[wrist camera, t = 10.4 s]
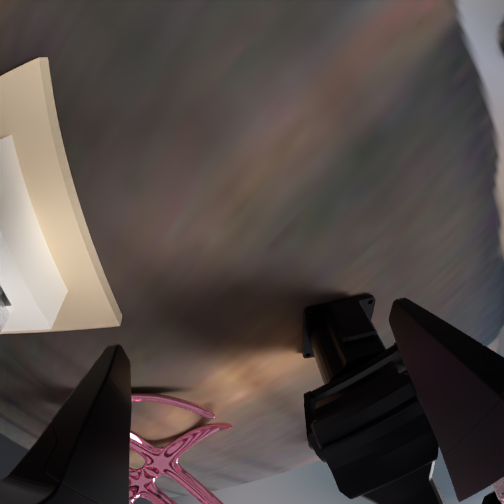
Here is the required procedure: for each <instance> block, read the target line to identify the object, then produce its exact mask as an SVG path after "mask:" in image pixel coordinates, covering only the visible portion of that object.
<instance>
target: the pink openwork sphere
mask: <svg viewBox="0 0 504 504" xmlns="http://www.w3.org/2000/svg"><path fill="white" fill-rule="evenodd" d="M131 401H150V402H159V403H165V404H169V405H173V406H177V407H181V408H184V409H186V410H189V411H192V412H194V413H197V414H199V415H202V416H204V417H207V418H215V415H214V413H212V412H211V411H210V410H208V409H206V408H204V407H202V406H199V405H197V404H195V403H192V402H189V401H186V400H183V399H180V398H176V397H172V396H167V395H161V394H153V393H131ZM51 422H52V421H51ZM48 425H49V424H48ZM48 425H47V426H48ZM47 426H46V428H47ZM46 428H45V429H46ZM231 428H232V425H231V424H229V423H225V422H217V423H210V424H206V425H203V426H200V427H197V428H195V429H193V430H191V431H189V432H187V433H185V434H183V435H182V436H180V437H178V438H177V439H175V440H174V441H172V442H171V443H170V444H168V445H167V446H165V447H156V446H153V445H152V444H150V443H148V442H147V441H145V440H144V439H142V438H141V437H139V436H138V435H136V434H135V433H133V432H131V431H130V448H131V449H132V450H134V451H135V452H137V453H138V454H140V455H141V456H142V457H143V458H144V460H145V464H144V465H143V467H141V468H139V469H133V468H131V467H129V504H133V503H134V501H135V500H136V499H137V498H139V497H144V498H146V499H148V500H150V501H151V502H152V503H153V504H176V503H175V502H174V501H173V500H172V499H171V498H170V497H168V496H167V495H166V494H165V493H163V492H162V491H161V490H160V489H159V488H158V487H157V486H156V483H155V480H156V478H157V477H158V476H160V475H167V476H169V477H171V478H172V479H173V480H175V481H176V482H177V483H178V484H180V485H181V486H182V487H183V488H184V489H185V490H187V491H188V492H189V493H190V494H191V495H192V496H193V497H195V498H196V499H197V500H198V501H199V502H200V503H201V504H223V503H222V502H221V501H220V500H219V499H218V498H217V497H216V496H215V495H214V494H213V493H211V492H210V491H209V490H208V489H207V488H206V487H205V486H204V485H202V484H201V483H200V482H199V481H198V480H197V479H195V478H194V477H193V476H192V475H191V474H189V473H188V472H187V471H186V470H184V469H183V468H182V467H181V466H180V464H179V463H178V459H179V457H180V456H181V455H182V454H183V453H185V452H186V451H187V450H188V449H190V448H191V447H192V446H194V445H195V444H196V443H198V442H199V441H201V440H202V439H204V438H206V437H207V436H209V435H211V434H213V433H215V432H218V431H221V430H229V429H231ZM45 429H44V431H45ZM44 431H43V432H44ZM43 432H42V433H43ZM41 435H42V434H41Z"/></svg>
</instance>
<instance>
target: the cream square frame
mask: <svg viewBox="0 0 504 504" xmlns="http://www.w3.org/2000/svg"><path fill="white" fill-rule="evenodd" d="M0 285H1V287H2V289H3V293H2V294H1V296H0V298H1V300H2V301H3V303H4V305H5V307H6V308H7V310H8V312H9V313H10V316H9V317H8V319H7V321H6V323H5V325H4V327H3V329H2V331H1V333H0V334H12V333H34V332H52V331H67V330H81V329H93V328H105V327H116V326H120V324H121V320H122V313H121V311H120V309H119V307H118V304H117V302H116V300H115V298H114V295H113V293H112V291H111V288H110V286H109V283H108V281H107V279H106V276H105V274H104V271H103V269H102V266H101V263H100V261H99V258H98V256H97V253H96V250H95V247H94V245H93V242H92V239H91V236H90V234H89V231H88V228H87V225H86V222H85V219H84V216H83V213H82V210H81V206H80V203H79V200H78V197H77V193H76V190H75V187H74V183H73V180H72V176H71V172H70V169H69V165H68V161H67V157H66V153H65V149H64V145H63V141H62V136H61V132H60V127H59V122H58V117H57V112H56V107H55V102H54V96H53V90H52V84H51V77H50V70H49V62H48V57H39V58H37V59H34V60H32V61H30V62H28V63H26V64H23V65H21V66H19V67H17V68H15V69H13V70H11V71H9V72H7V73H5V74H4V75H2V76H0Z"/></svg>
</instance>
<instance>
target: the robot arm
mask: <svg viewBox="0 0 504 504" xmlns="http://www.w3.org/2000/svg"><path fill="white" fill-rule="evenodd" d="M369 300H370V301H369ZM374 305H375V298H374V296H373V295H366V296H362V297H357V298H352V299H347V300H342V301H337V302H332V303H327V304H322V305H317V306H311V307H308V308H306V309H305V310H304V322H303V345H302V354H303V357H304V358H311V357H315V359H316V362H317V364H318V367H319V370H320V373H321V376H322V379H323V381H324V384H325V385H323V386H321V387H319V388H317V389H315V390H313V391H309V392H307V393H305V394H304V409H305V419H306V429H307V439H308V441H309V442H308V444H309V447H310V448H311V449H313V450H314V451H315V453H316V454H317V456H318V457H319V458H320V459H321V460H322V461H323V462H326V463H327V464H328V466H329V468H330V469H331V471H332V474H333V476H334V479H335V481H336V483H337V486H338V488H339V491H340V492H341V493H343V494H344V495H345V496H347V497H348V498H350V499H354V498H356V497H359V496H362V497H364V498H366V499H368V500H370V501H372V502H374V503H376V504H446V503H445V501H444V499H443V496H442V494H441V491H440V489H439V487H438V485H437V482H436V480H435V478H434V476H433V469H434V464H435V460H436V459H437V457H438V447H440V450H441V452H442V455H443V458H444V461H445V464H446V466H447V469H448V472H449V475H450V478H451V480H452V484H453V487H454V490H455V493H456V496H457V499H458V501H459V502H461V501H462V500H464V499H467V498H468V497H470V496H472V495H474V494H476V493H478V492H479V491H481V490H483V489H485V488H486V487H488V486H490V485H491V484H492V486H493V488H494V490H493V491H492V492H491V493H489V494H488V495H486V496H485V497H484V499H483V502H482V504H504V357H502V356H501V355H499V354H497V353H496V352H494V351H492V350H491V349H489V348H488V347H486V346H483V344H481V343H479V342H478V341H476V340H475V339H473V338H471V337H470V336H468V335H467V334H465V333H463V332H462V331H460V330H459V329H457V328H455V327H454V326H452V325H450V324H449V323H447V322H445V321H444V320H442V319H440V318H439V317H437V316H435V315H434V314H432V313H430V312H429V311H427V310H425V309H424V308H422V307H420V306H419V305H417V304H415V303H414V302H412V301H410V300H409V299H407V298H400V299H396V300H395V301H394V302H393V305H392V308H391V312H390V316H389V323H390V326H391V329H392V332H393V334H394V337H395V340H396V342H395V343H394V345H393V346H391V347H390V348H388V349H386V348H385V346H384V345H383V343H382V341H381V339H380V337H379V336H378V334H377V331H376V329H375V327H374V326H373V324H372V322H371V318H372V314H373V310H374ZM310 312H311V313H310ZM131 409H132V403H131V371H130V361H129V359H128V357H127V355H126V354H125V352H124V350H123V348H122V346H121V345H119V344H113V345H108V346H107V347H106V348H105V349H104V351H103V352H102V353H101V355H100V356H99V357H98V358H97V360H96V361H95V362H94V364H93V365H92V366H91V368H90V369H89V370H88V372H87V373H86V374H85V376H84V377H83V378H82V380H81V381H80V382H79V384H78V385H77V386H76V388H75V389H74V390H73V392H72V393H71V394H70V396H69V397H68V398H67V400H66V401H65V403H64V404H63V405H62V407H61V408H60V410H59V411H58V412H57V414H56V415H55V417H54V418H53V419H52V422H50V423H49V425H48V426H47V428H46V429H45V431H44V432H43V433H42V435H41V436H40V437H39V439H38V440H37V441H36V443H35V444H34V445H33V446H32V447H31V449H30V450H29V451H28V452H27V454H26V455H25V456H24V457H23V458H22V460H21V461H20V462H19V463H18V464H17V465H16V467H15V468H14V469H13V470H12V471H11V472H10V473H9V474H8V475H7V476H6V477H5V478H3V479H1V480H0V504H129V451H130V427H131Z"/></svg>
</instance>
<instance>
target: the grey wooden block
mask: <svg viewBox="0 0 504 504" xmlns="http://www.w3.org/2000/svg"><path fill="white" fill-rule="evenodd" d="M2 293H3V289H2V287H1V285H0V296H1V294H2ZM9 316H10V313H9V312H8V310H7V308H6V307H5V305H4V303H3V301H2V300H1V298H0V333H1V331H2V329H3V327H4V325H5V323H6V321H7V319H8V317H9Z"/></svg>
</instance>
